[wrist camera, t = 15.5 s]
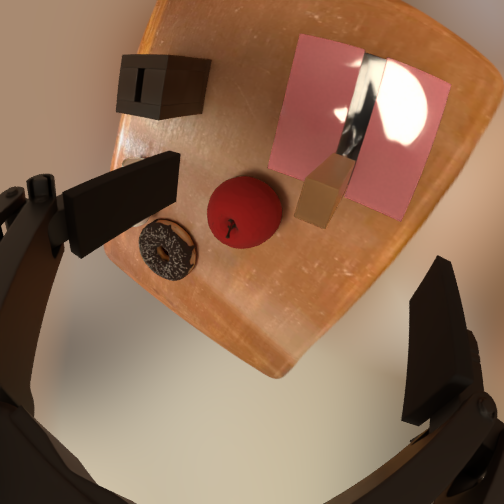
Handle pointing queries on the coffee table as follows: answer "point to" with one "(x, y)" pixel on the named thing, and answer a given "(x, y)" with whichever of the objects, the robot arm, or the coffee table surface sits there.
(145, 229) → the donut
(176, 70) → the knife block
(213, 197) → the apple
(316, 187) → the knife
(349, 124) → the cake
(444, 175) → the coffee table surface
